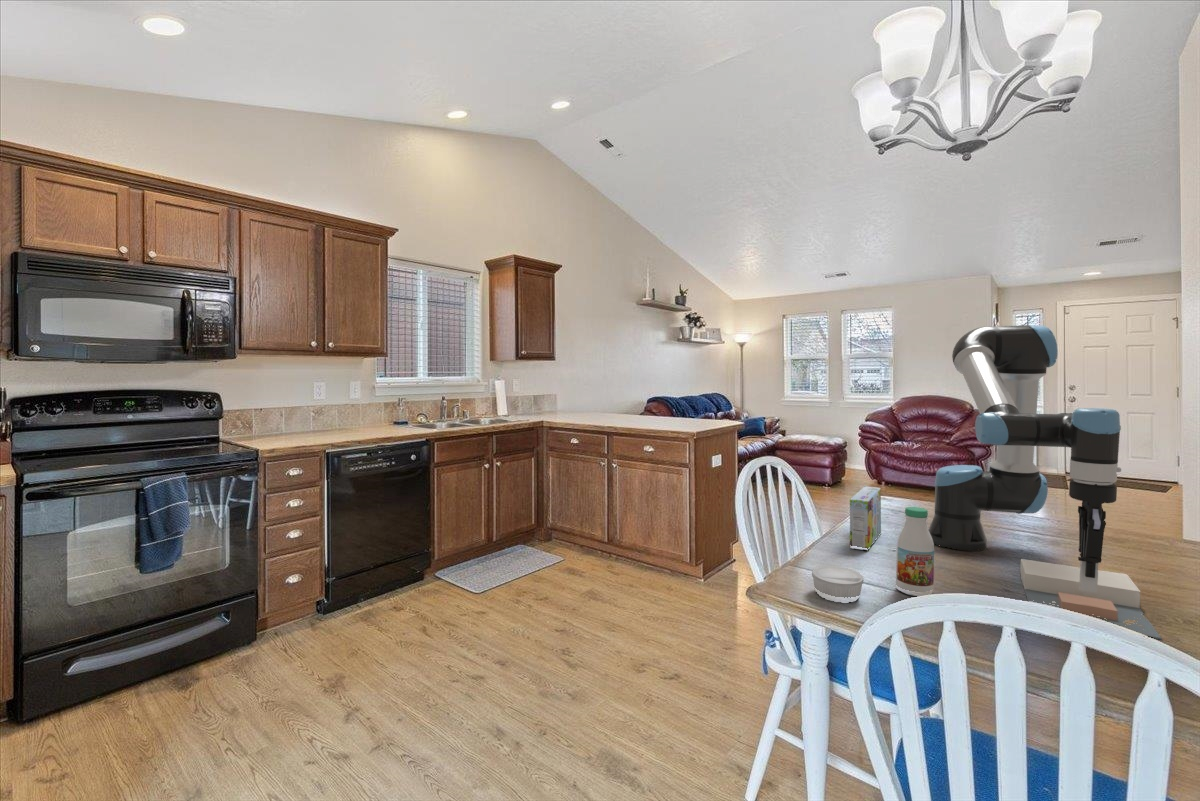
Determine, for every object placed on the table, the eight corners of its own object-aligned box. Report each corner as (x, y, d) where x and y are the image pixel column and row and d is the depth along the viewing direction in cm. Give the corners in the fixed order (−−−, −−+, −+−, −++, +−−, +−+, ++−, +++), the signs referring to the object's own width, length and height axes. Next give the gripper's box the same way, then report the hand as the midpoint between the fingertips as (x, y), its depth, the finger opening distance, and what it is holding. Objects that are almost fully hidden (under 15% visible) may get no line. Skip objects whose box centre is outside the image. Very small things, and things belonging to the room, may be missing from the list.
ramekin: (838, 609, 122) (838, 586, 122) (800, 591, 133) (801, 569, 132) (874, 601, 127) (875, 578, 127) (835, 583, 137) (836, 562, 137)
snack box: (862, 531, 180) (863, 485, 179) (881, 534, 177) (882, 487, 176) (848, 549, 163) (849, 498, 162) (869, 552, 160) (870, 500, 159)
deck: (1024, 590, 132) (1025, 573, 132) (1020, 574, 142) (1020, 558, 142) (1139, 609, 121) (1140, 591, 121) (1126, 590, 131) (1126, 574, 131)
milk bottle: (888, 586, 135) (890, 505, 134) (918, 584, 136) (921, 504, 135) (909, 599, 127) (911, 513, 126) (940, 597, 128) (943, 512, 127)
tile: (1057, 591, 125) (1057, 600, 125) (1061, 601, 120) (1061, 610, 120) (1111, 600, 120) (1110, 609, 120) (1117, 611, 115) (1117, 620, 115)
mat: (1031, 615, 119) (1031, 613, 119) (1024, 590, 132) (1024, 588, 132) (1161, 639, 108) (1161, 638, 108) (1139, 609, 121) (1139, 608, 121)
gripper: (1124, 489, 110) (1118, 605, 111) (1109, 478, 121) (1104, 584, 122) (1075, 485, 114) (1070, 597, 115) (1065, 474, 125) (1060, 577, 126)
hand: (1088, 590), depth 119 cm, fingers closed
